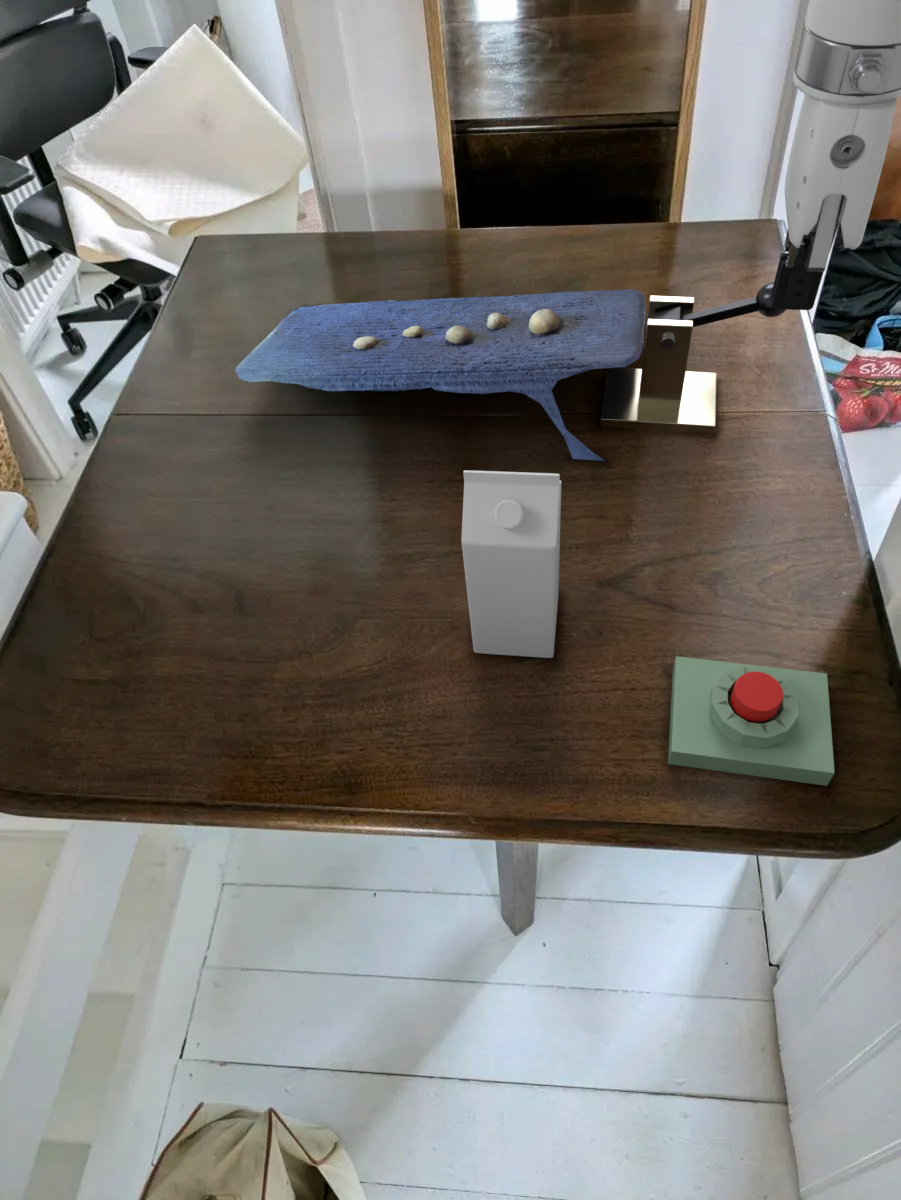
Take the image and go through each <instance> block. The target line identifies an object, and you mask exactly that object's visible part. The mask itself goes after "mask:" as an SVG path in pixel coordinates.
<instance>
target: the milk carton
mask: <svg viewBox="0 0 901 1200" xmlns="http://www.w3.org/2000/svg"><path fill="white" fill-rule="evenodd" d="M560 479H561V475H560V473H555V472H554V473H551V472H550V473H549V472H526V471H525V472H523V471H498V470H470V469H469V470H467V469H466V470H465V469H464V470H463V499H462V517H461V518H462V520H461V538H460V539H461V540H460V541H461V549H462V560H463V568H464V579H465V586H466V595H467V603H468V605H467V606H468V613H469V622H470V631H471V632H470V633H471V641H472V650H473V652H474V653H475V654H486V655H498V656H499V655H501V656H512V657H530V658H543V659H553V658H554V656H555V655H554V654H555V641H556V631H557V630H556V629H557V620H558V619H557V616H558V606H559V605H558V603H559V589H560V588H559V587H560V586H559V585H560V553H561V550H560V549H561V513H562V480H560Z"/></svg>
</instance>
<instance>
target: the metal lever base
mask: <svg viewBox="0 0 901 1200" xmlns="http://www.w3.org/2000/svg"><path fill="white" fill-rule="evenodd" d="M694 306H695V297H694V296H673V295H671V296H669V295H649V303H648V309H647V310H648V311H647V319H646V329H645V337H644V345H643V347H644V348H643V357H642V365H641V368H634V367H633V368H632V367H615V368H607V370H606V378H605V385H604V392H603V400H602V407H601V412H600V413H601V414H600V424H599V427H600V428H608V429H624V430H636V431H637V430H639V431H652V432H653V431H655V432H666V433H667V432H669V433H684V434H698V435H699V434H700V435H715V431H716V427H717V425H716V421H717V375H718V373H717V372H708V371H707V372H706V371H691V370H690V371H689V370H687V366H688V360H689V355H690V354H689V353H690V348H691V342H692V336H693V328H694V327H693V321H688V320H664V319H653V314H654V313H657V312H661V311H665V310H669V309H673V308H677V307H681V310H682V313H683V315H686V314H690V313H694Z"/></svg>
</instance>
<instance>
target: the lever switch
mask: <svg viewBox="0 0 901 1200" xmlns="http://www.w3.org/2000/svg"><path fill="white" fill-rule="evenodd" d="M773 285H774V281H772V282H768V283H766V284H765V285H763V286H761V288H760V289H759V290H758V292H757V294H756V296H752V297H749V298H745V299H742V300H737V301H733V302H729V303H725V304H722V305H717V306H714V307H710V308H706V309H702V310H699V311H695V312H694V311H693V313H690V314H686V315H683V313H682V310H681V307H677V308H673V309H669V310H665V311H661V312H657V313H654V314H653V319H664V320H688V321H693V328H696V327H700V326H704V325H708V324H712V323H716V322H720V321H724V320H728V319H732V318H736V317H739V316H744V315H748V314H751V313H756V312H759V314H761V315H762V316H764V317H766V318H776V317H779V316H781V315H783V314H784V313H785V312H786V311H787V309H774V308H773V307H772V299H771V293H772V289H773Z"/></svg>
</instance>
